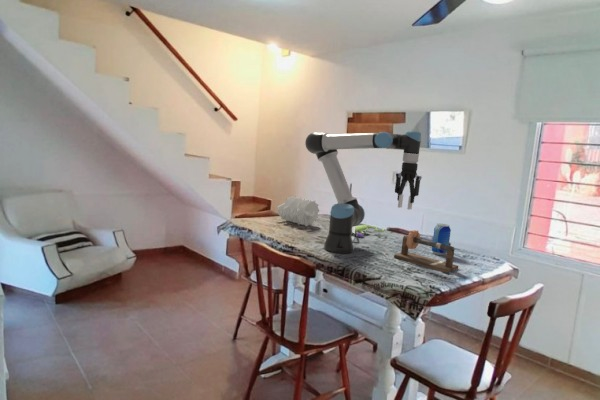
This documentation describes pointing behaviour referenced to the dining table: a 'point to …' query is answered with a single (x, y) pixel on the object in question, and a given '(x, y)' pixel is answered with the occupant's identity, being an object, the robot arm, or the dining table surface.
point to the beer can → (441, 237)
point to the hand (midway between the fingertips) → (404, 208)
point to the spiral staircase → (299, 211)
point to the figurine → (363, 227)
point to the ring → (410, 239)
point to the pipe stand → (427, 261)
